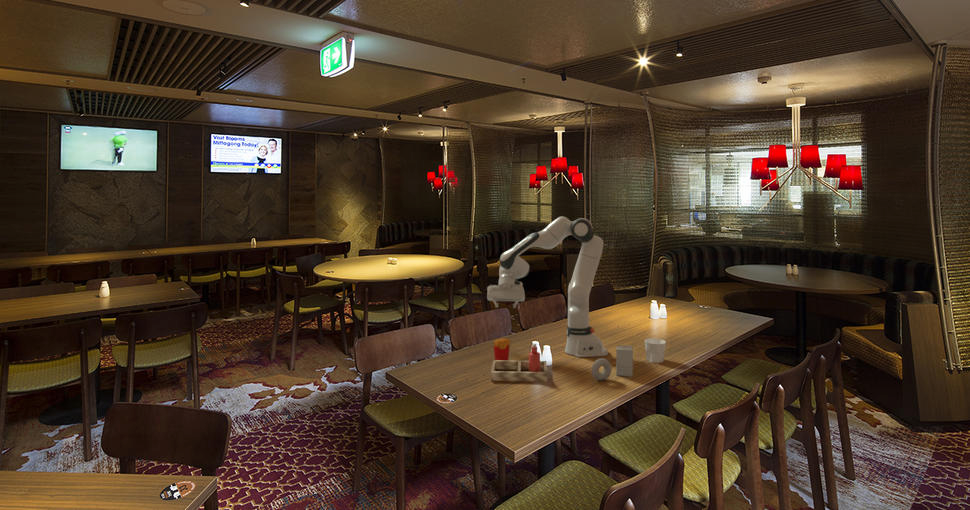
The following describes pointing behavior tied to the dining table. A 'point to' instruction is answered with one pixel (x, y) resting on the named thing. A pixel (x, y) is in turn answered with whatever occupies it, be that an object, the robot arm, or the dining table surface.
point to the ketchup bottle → (534, 360)
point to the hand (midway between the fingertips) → (505, 307)
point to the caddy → (518, 375)
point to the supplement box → (624, 360)
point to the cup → (654, 350)
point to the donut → (606, 371)
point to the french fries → (501, 349)
